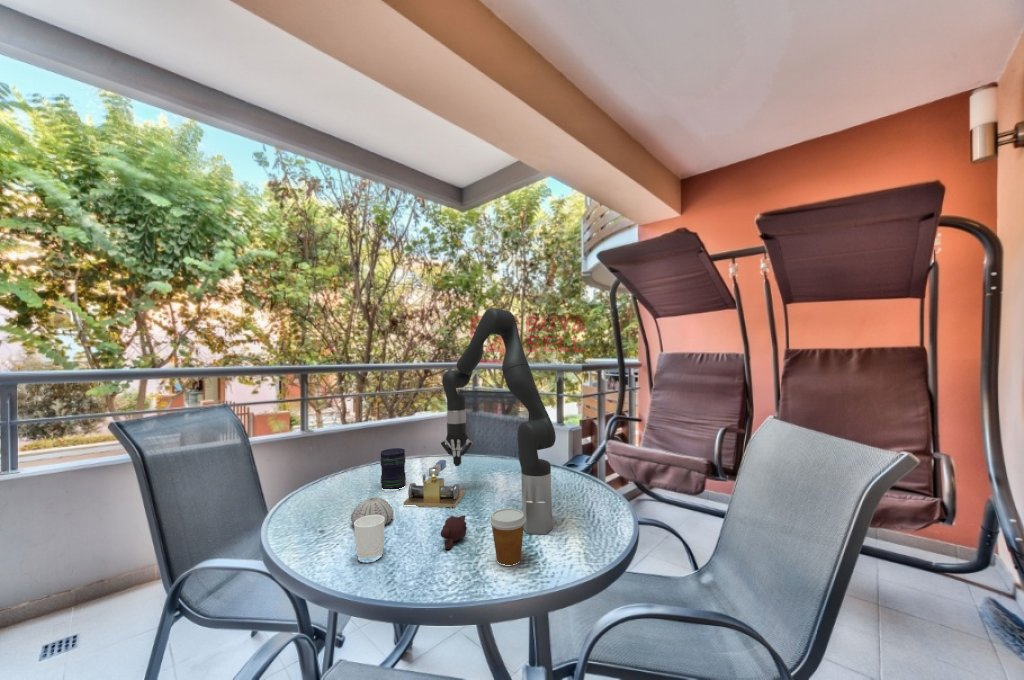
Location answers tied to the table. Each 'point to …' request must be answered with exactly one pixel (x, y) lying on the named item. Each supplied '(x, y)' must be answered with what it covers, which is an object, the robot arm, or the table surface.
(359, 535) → the white cup
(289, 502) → the table surface
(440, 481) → the valve
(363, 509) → the sea urchin shell
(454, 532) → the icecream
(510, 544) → the disposable coffee cup
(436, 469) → the lever
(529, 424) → the robot arm
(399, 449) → the storage jar
